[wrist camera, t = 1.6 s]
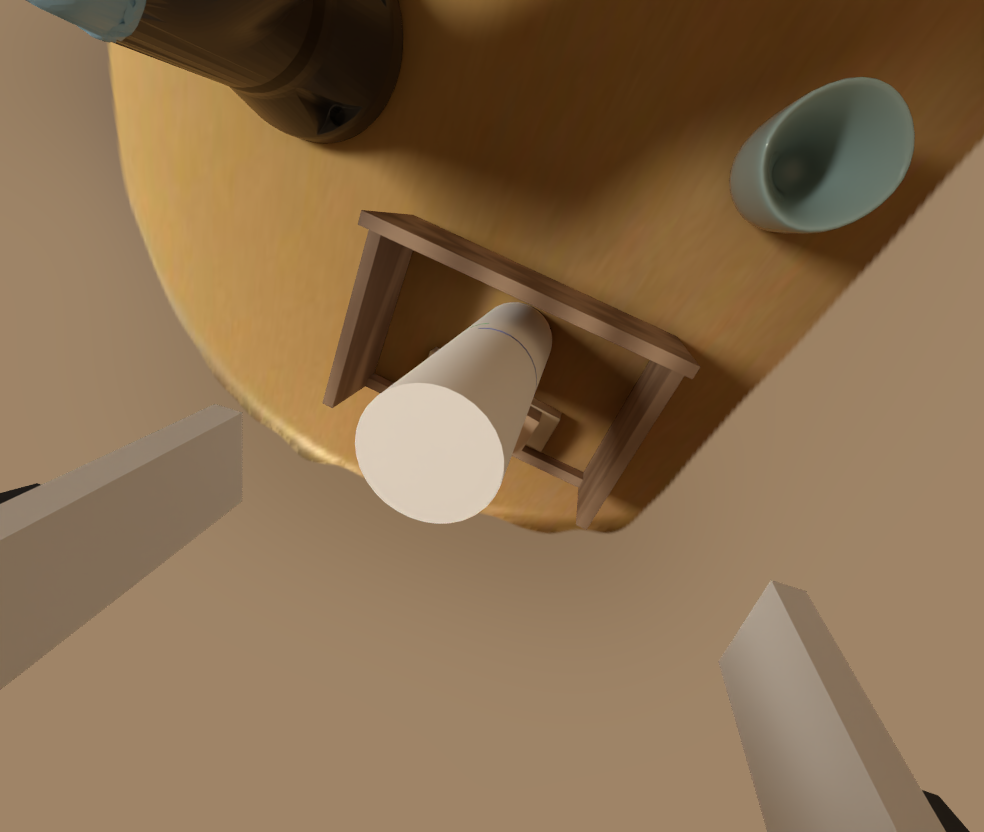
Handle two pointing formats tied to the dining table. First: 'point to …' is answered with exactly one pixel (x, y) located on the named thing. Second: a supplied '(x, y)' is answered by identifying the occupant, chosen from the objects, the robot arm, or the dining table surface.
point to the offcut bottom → (545, 425)
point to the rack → (405, 233)
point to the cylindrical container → (455, 418)
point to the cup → (824, 158)
